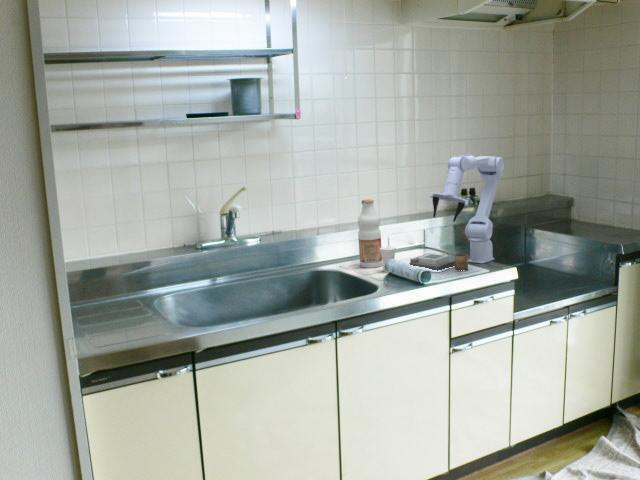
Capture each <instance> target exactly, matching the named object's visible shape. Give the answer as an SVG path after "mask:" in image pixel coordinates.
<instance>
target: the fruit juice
mask: <svg viewBox="0 0 640 480" xmlns="http://www.w3.org/2000/svg"><path fill="white" fill-rule="evenodd" d="M361 205H362V208H361V213H360V214H359V217H358V219H357V226H358V228H359V230H358V235H357V236H358V238H357V239H358V251H359V252H358V253H359V263H360V264H359V265H360V266H359V267H360V268H363V267H364V268H365V269H374V268H375V269H376V268H380V267H382V265H383V261H382V255H381V251H380V248H381V247H382V235H381V230H380V227H379V226H380V221H381V220H380V217H379V216H378V214H377V213H376V211H375V208H374V199H363V200H361Z"/></svg>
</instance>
